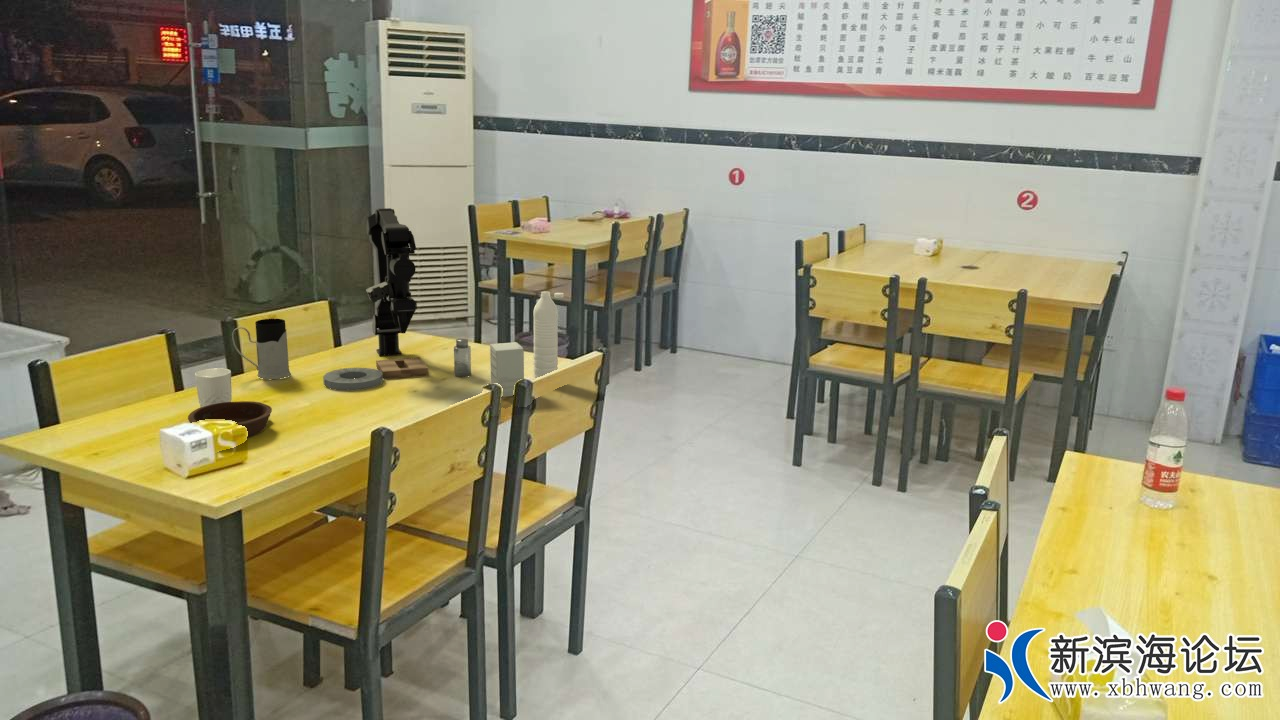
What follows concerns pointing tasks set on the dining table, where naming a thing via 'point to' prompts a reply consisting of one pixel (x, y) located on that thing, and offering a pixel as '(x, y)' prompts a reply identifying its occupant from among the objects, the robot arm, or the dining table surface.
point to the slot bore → (395, 371)
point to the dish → (236, 414)
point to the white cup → (213, 386)
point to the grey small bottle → (462, 358)
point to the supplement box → (506, 365)
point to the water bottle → (545, 334)
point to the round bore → (346, 381)
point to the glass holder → (270, 348)
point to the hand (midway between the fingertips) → (400, 329)
